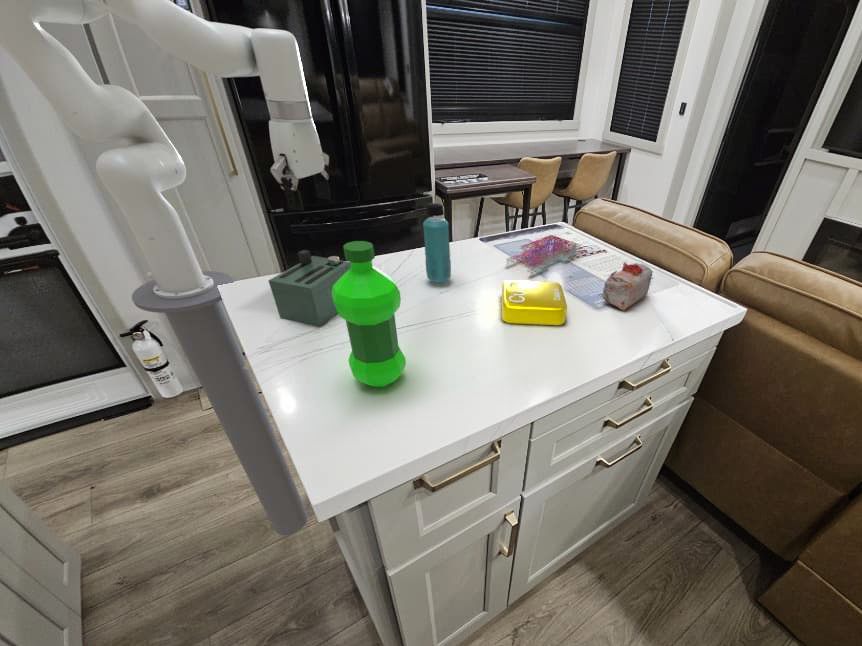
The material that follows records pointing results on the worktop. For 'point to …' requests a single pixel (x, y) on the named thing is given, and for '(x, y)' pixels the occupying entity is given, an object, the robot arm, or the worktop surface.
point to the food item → (627, 285)
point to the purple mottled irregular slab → (537, 253)
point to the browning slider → (304, 257)
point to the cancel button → (334, 261)
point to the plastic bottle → (369, 317)
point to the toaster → (307, 291)
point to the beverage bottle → (437, 244)
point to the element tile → (533, 303)
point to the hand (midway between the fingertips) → (311, 203)
